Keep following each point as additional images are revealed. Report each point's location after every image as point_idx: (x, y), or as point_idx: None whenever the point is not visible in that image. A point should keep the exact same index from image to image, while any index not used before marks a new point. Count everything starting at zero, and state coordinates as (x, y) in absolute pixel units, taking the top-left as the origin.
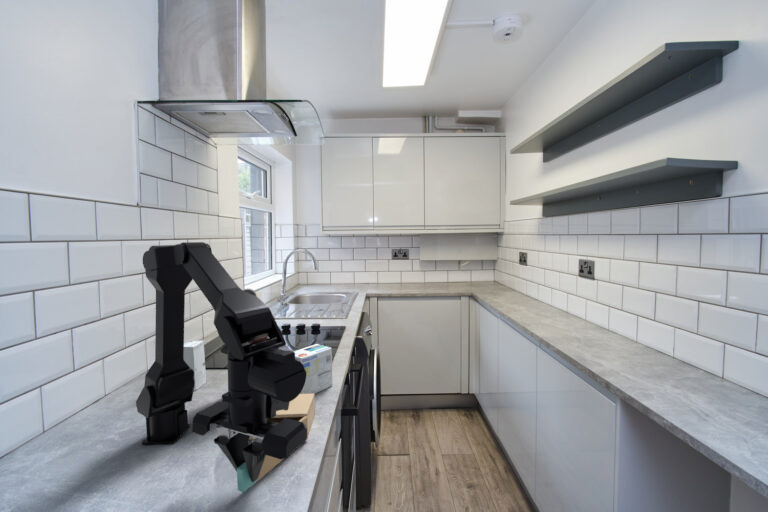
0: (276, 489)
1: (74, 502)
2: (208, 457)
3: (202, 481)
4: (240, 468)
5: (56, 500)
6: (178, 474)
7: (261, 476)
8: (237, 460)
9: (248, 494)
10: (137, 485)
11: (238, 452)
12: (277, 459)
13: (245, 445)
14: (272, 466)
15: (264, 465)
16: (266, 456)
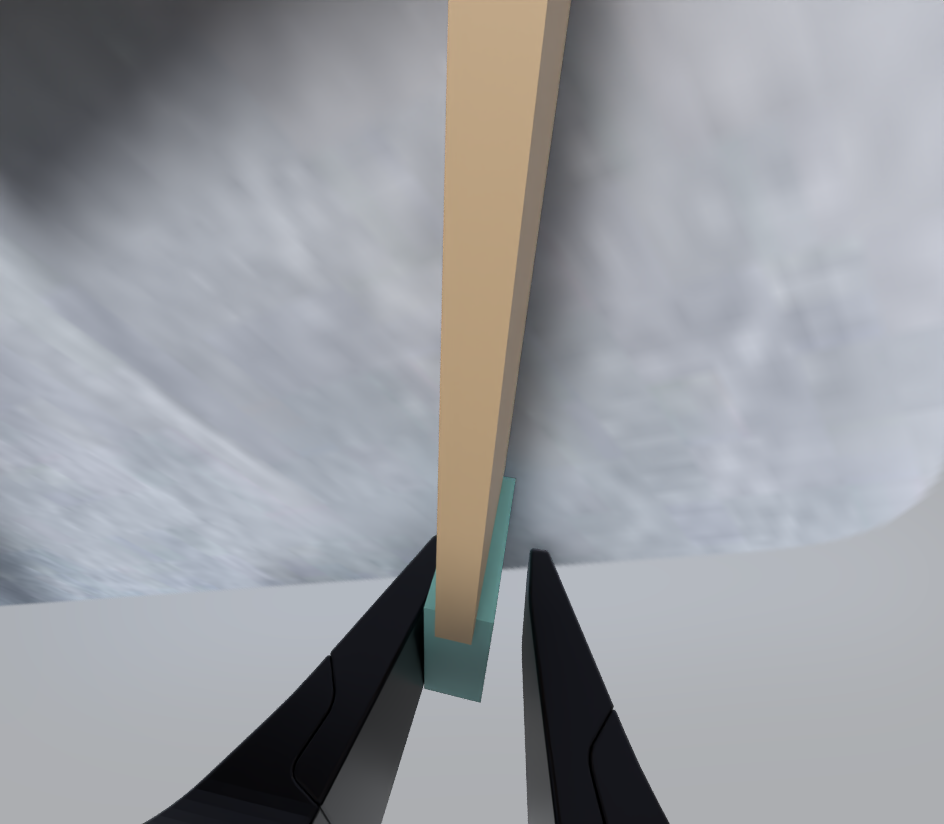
0: (667, 465)
1: (45, 595)
2: (30, 330)
3: (229, 484)
4: (452, 692)
5: (6, 593)
6: (95, 469)
7: (509, 435)
8: (400, 739)
9: (516, 516)
10: (69, 534)
11: (370, 810)
12: (531, 272)
13: (345, 801)
14: (523, 332)
15: (505, 447)
16: (498, 470)
